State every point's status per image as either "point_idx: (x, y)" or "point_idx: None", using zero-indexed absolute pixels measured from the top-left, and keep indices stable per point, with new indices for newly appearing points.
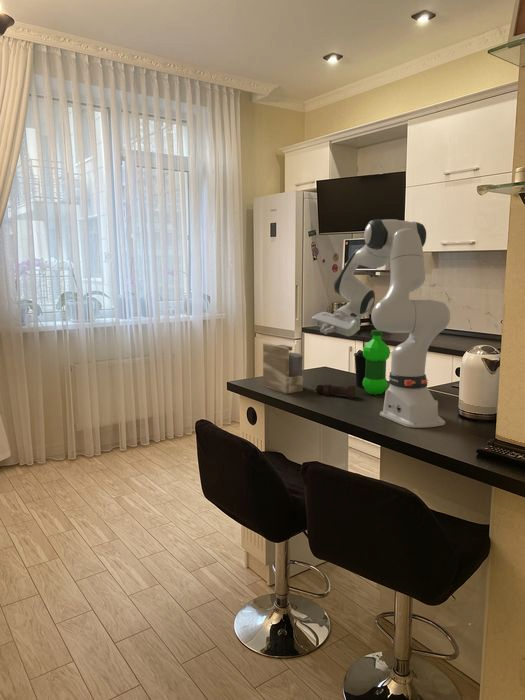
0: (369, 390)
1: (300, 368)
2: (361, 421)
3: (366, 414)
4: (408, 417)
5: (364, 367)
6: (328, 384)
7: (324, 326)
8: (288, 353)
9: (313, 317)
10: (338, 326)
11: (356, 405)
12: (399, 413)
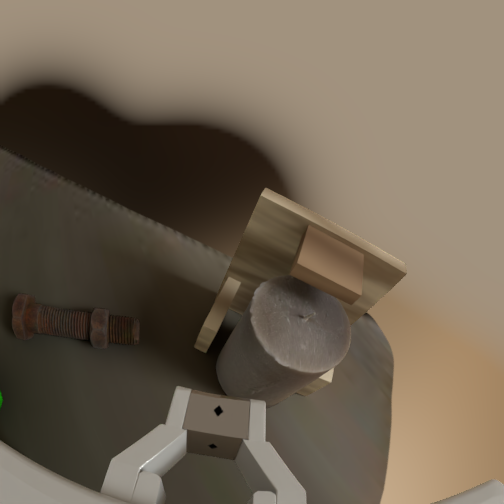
0: None
1: (234, 340)
2: (18, 177)
3: (4, 209)
4: None
5: None
6: (95, 316)
7: (265, 485)
8: (254, 210)
9: (497, 485)
10: (23, 456)
11: (16, 258)
12: None
